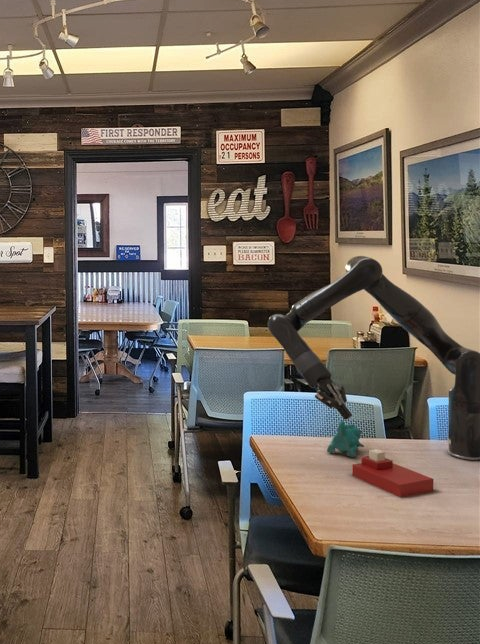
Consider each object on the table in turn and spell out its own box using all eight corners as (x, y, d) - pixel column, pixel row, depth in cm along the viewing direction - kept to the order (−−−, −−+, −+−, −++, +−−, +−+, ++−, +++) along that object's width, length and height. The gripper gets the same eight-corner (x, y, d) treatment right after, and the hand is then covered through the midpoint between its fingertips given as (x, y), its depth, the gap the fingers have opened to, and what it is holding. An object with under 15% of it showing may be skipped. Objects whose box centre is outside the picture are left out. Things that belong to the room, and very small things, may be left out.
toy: (352, 466, 184) (381, 440, 191) (332, 430, 185) (361, 405, 193) (328, 466, 193) (356, 441, 200) (308, 431, 194) (337, 408, 202)
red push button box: (384, 470, 176) (384, 453, 176) (433, 491, 162) (433, 471, 162) (352, 475, 172) (352, 457, 172) (399, 497, 157) (400, 477, 157)
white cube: (376, 458, 173) (376, 449, 173) (384, 461, 171) (384, 452, 171) (369, 459, 172) (369, 450, 172) (377, 462, 170) (377, 453, 170)
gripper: (306, 363, 182) (344, 414, 172) (331, 359, 190) (369, 407, 180) (291, 378, 187) (327, 428, 177) (316, 373, 195) (352, 421, 185)
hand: (348, 417), depth 179 cm, fingers closed
